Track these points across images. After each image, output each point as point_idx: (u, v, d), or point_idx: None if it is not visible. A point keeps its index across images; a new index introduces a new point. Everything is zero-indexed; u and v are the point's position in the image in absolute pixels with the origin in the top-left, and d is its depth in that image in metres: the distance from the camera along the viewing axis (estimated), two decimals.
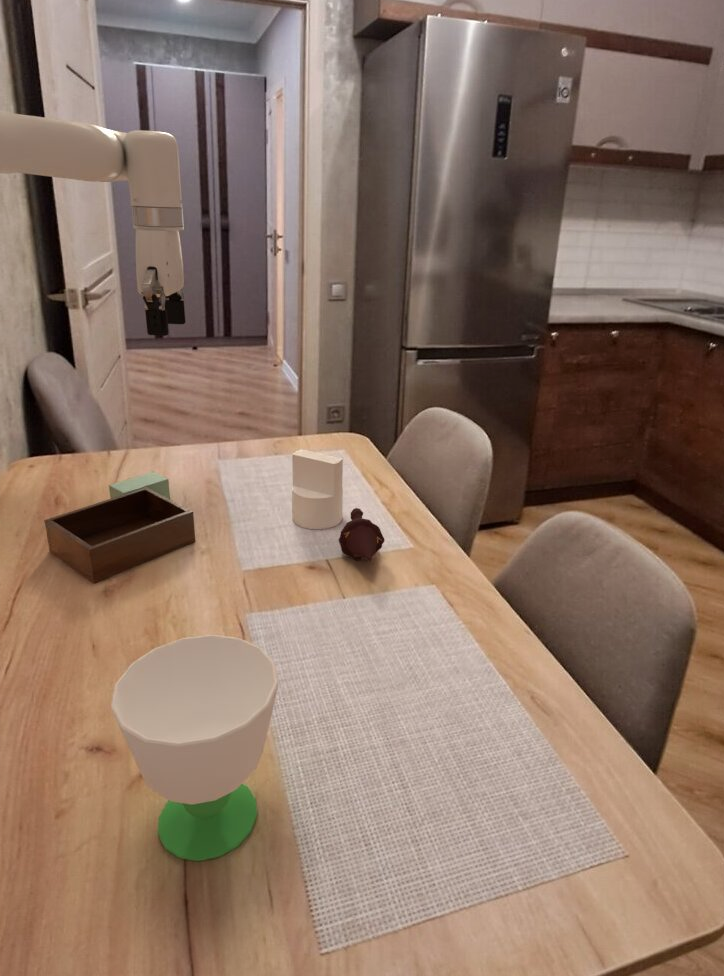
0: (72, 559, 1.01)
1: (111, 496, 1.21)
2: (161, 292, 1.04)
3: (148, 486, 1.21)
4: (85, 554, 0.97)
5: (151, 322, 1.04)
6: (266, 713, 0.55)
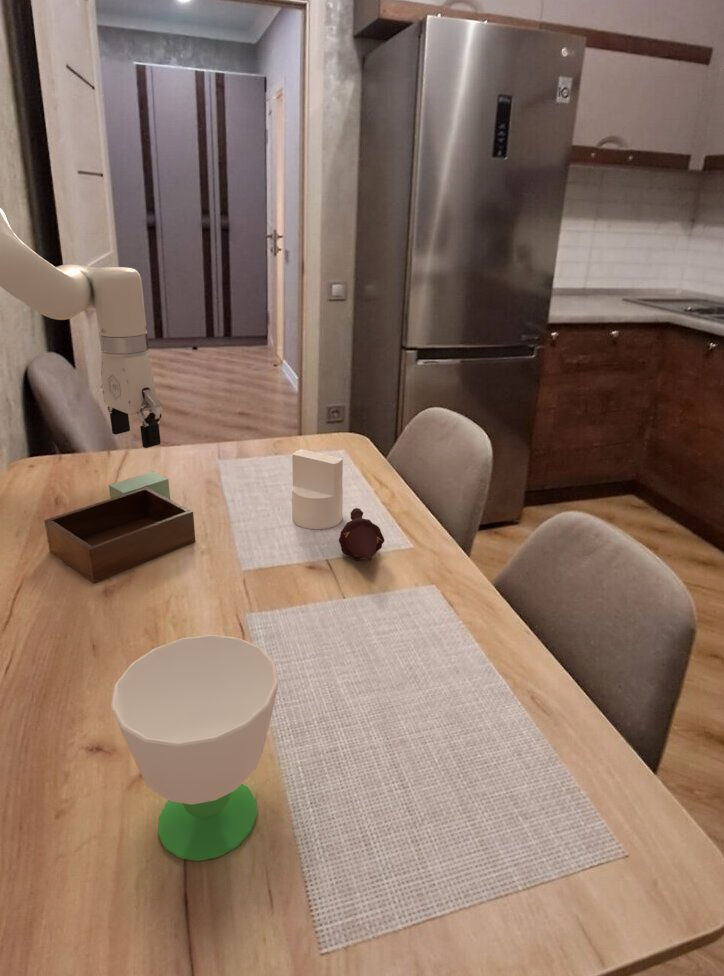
0: (72, 559, 1.01)
1: (111, 496, 1.21)
2: None
3: (148, 486, 1.21)
4: (85, 554, 0.97)
5: (150, 436, 1.14)
6: (266, 713, 0.55)
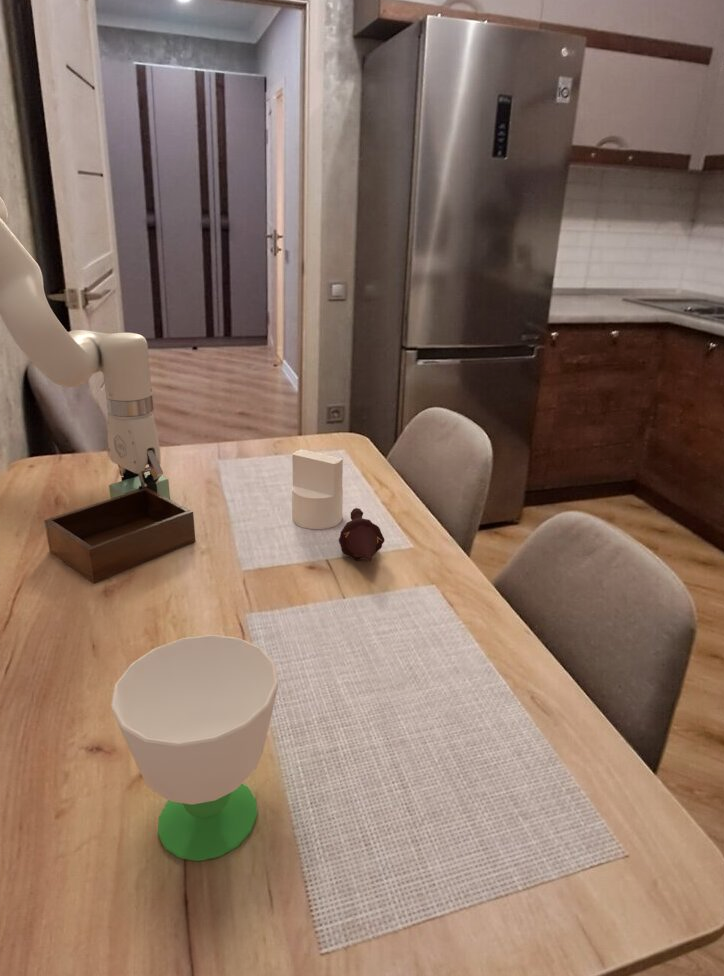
0: (72, 559, 1.01)
1: (111, 496, 1.21)
2: None
3: None
4: (85, 554, 0.97)
5: None
6: (266, 713, 0.55)
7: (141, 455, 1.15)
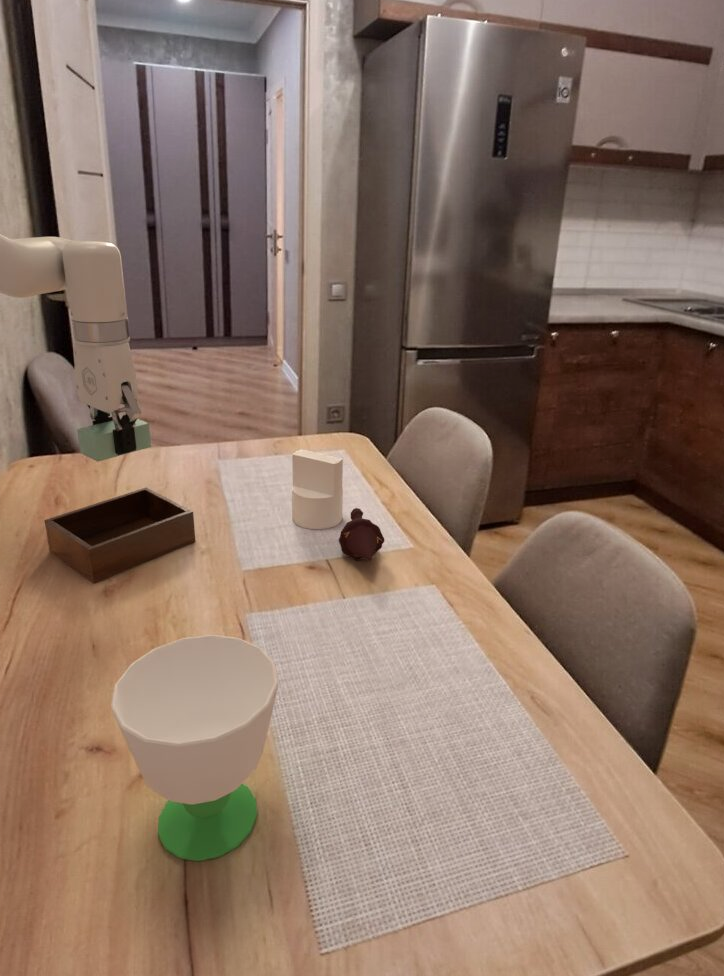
0: (72, 559, 1.01)
1: (80, 442, 1.01)
2: None
3: None
4: (85, 554, 0.97)
5: (124, 441, 1.01)
6: (266, 713, 0.55)
7: (114, 390, 0.96)
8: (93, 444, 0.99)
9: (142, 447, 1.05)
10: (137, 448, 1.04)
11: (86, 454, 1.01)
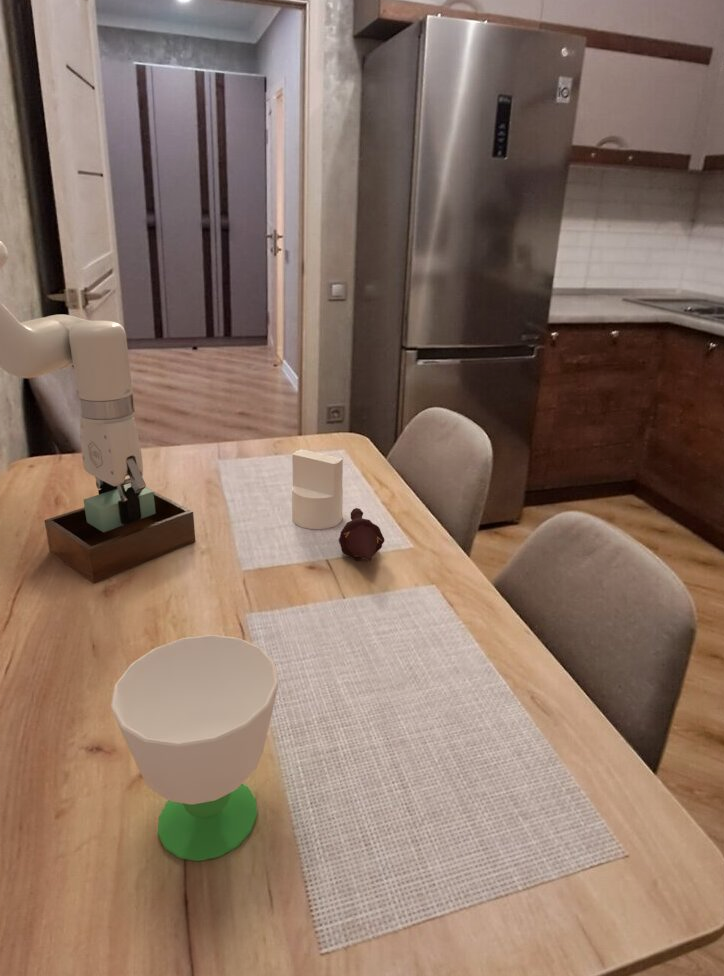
0: (72, 559, 1.01)
1: (86, 512, 1.03)
2: None
3: None
4: (85, 554, 0.97)
5: (129, 512, 1.03)
6: (266, 713, 0.55)
7: (119, 465, 0.98)
8: (99, 515, 1.01)
9: (147, 514, 1.07)
10: (142, 516, 1.06)
11: (92, 524, 1.03)
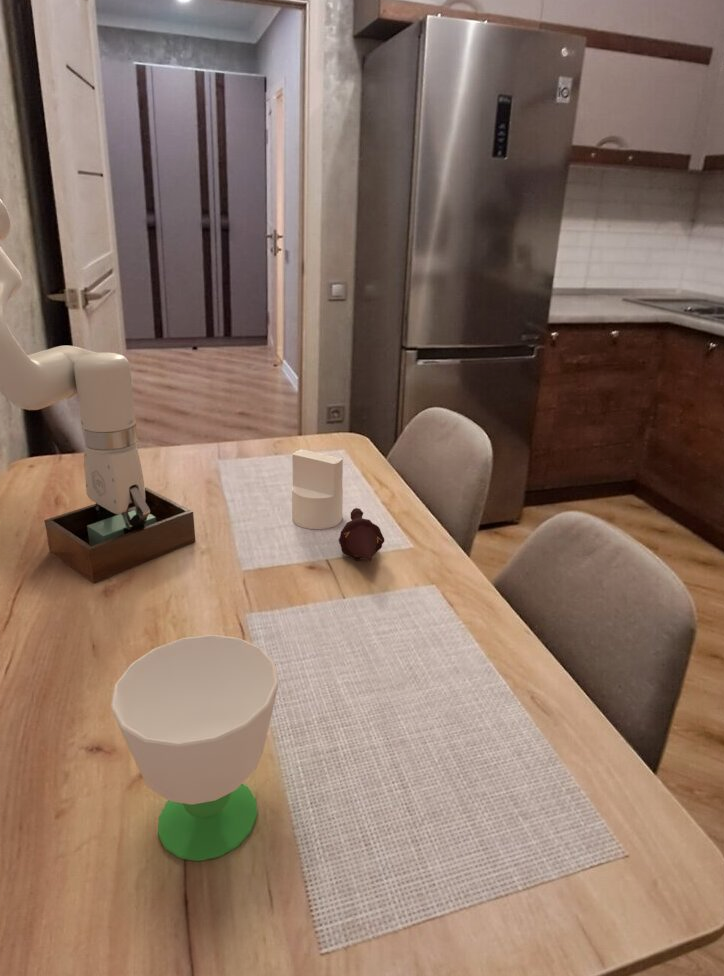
0: (72, 559, 1.01)
1: (90, 538, 1.05)
2: None
3: None
4: (85, 554, 0.97)
5: None
6: (266, 713, 0.55)
7: (122, 494, 1.00)
8: None
9: None
10: None
11: None
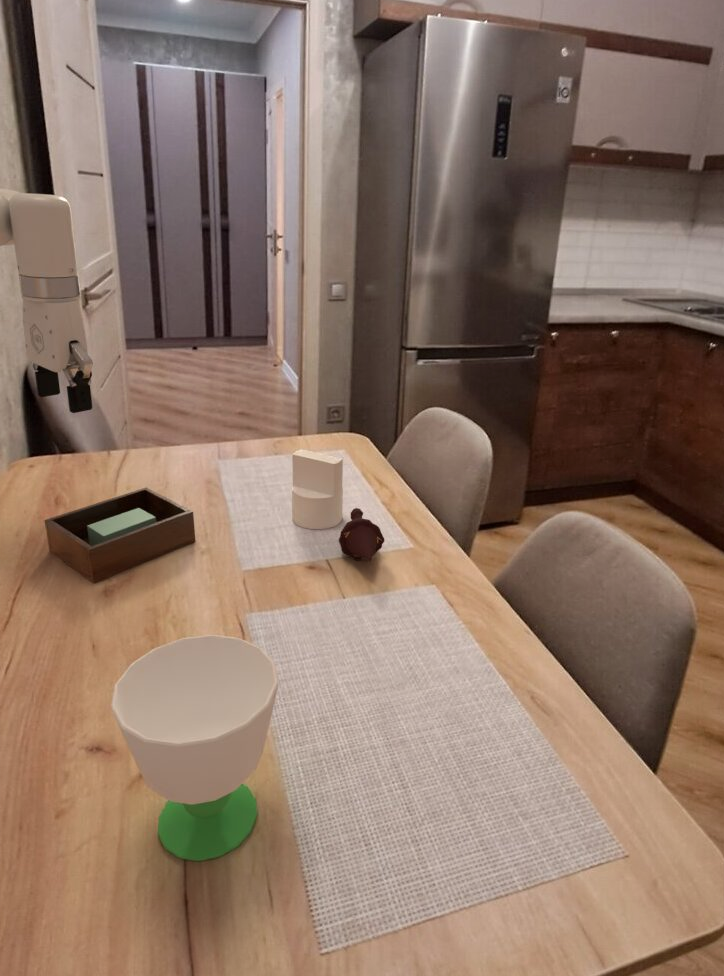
0: (72, 559, 1.01)
1: (90, 538, 1.05)
2: None
3: (132, 526, 1.05)
4: (85, 554, 0.97)
5: (79, 399, 0.97)
6: (266, 713, 0.55)
7: (61, 348, 0.93)
8: None
9: None
10: None
11: None
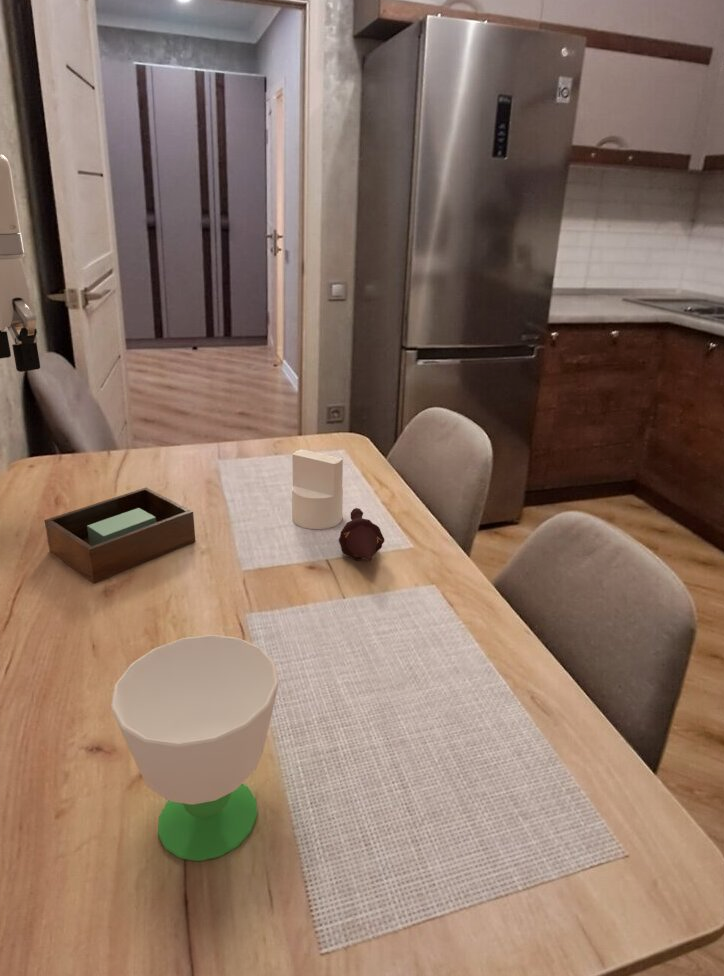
0: (72, 559, 1.01)
1: (90, 538, 1.05)
2: None
3: (132, 526, 1.05)
4: (85, 554, 0.97)
5: (25, 357, 0.97)
6: (266, 713, 0.55)
7: (4, 305, 0.94)
8: None
9: None
10: None
11: None
